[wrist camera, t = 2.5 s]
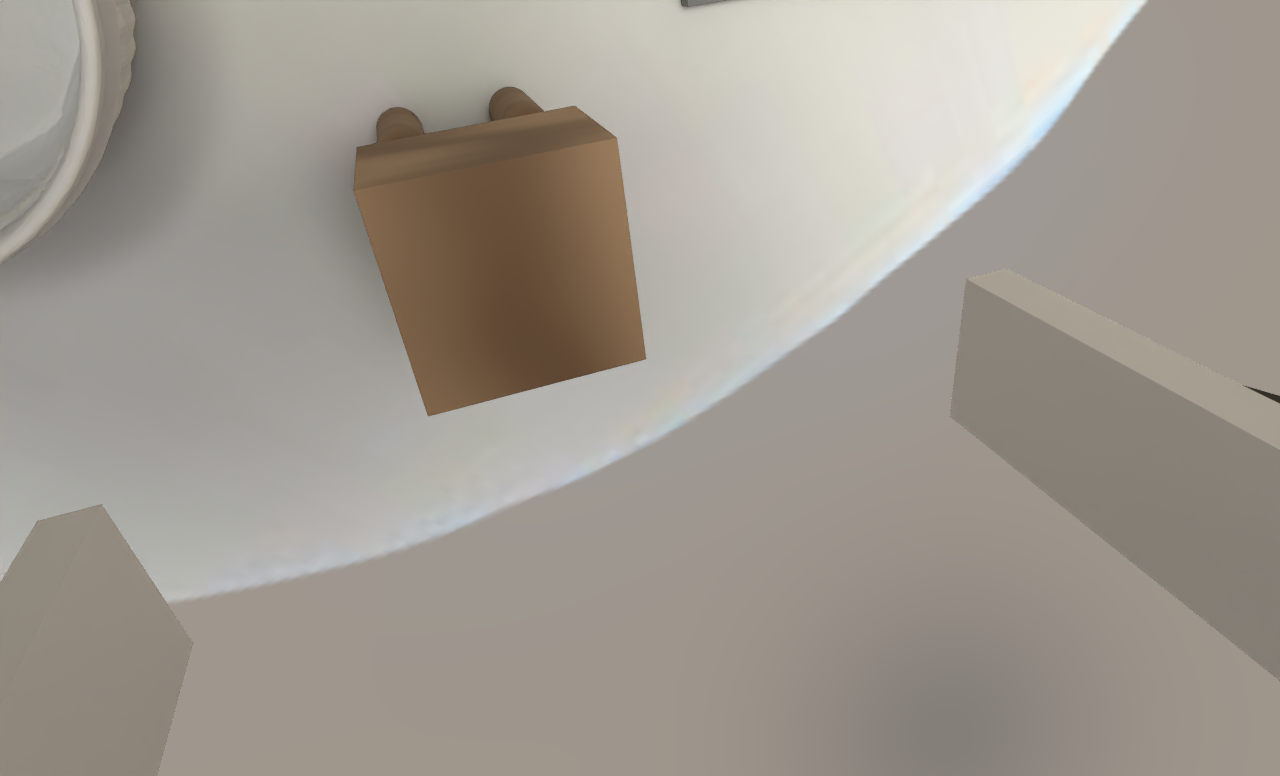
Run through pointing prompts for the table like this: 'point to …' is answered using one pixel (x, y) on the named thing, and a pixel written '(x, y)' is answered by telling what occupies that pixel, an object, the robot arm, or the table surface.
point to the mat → (697, 2)
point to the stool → (502, 249)
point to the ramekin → (56, 105)
